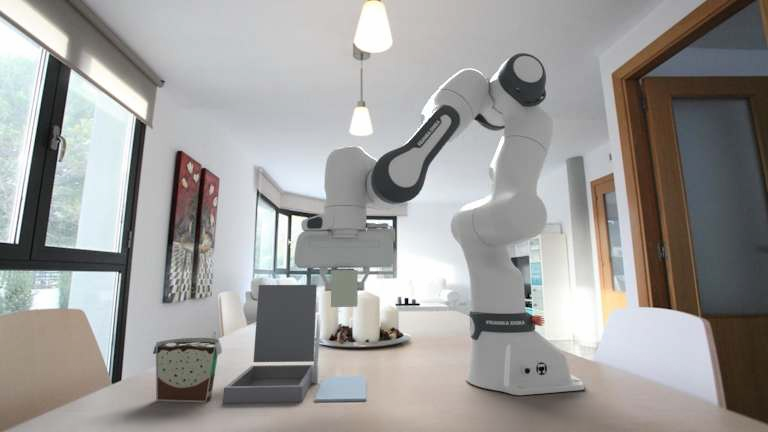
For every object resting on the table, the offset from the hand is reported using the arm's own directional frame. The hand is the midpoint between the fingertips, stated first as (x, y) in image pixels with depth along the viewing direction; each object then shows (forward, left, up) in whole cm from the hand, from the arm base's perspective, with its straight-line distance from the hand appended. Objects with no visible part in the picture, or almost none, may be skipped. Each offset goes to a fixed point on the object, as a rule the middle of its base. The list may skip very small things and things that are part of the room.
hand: (344, 290), depth 77 cm
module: (0, 0, -3) cm, 3 cm away
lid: (+14, -10, -7) cm, 18 cm away
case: (+14, -1, -19) cm, 23 cm away
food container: (+28, +3, -19) cm, 34 cm away
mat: (0, 0, -19) cm, 19 cm away
